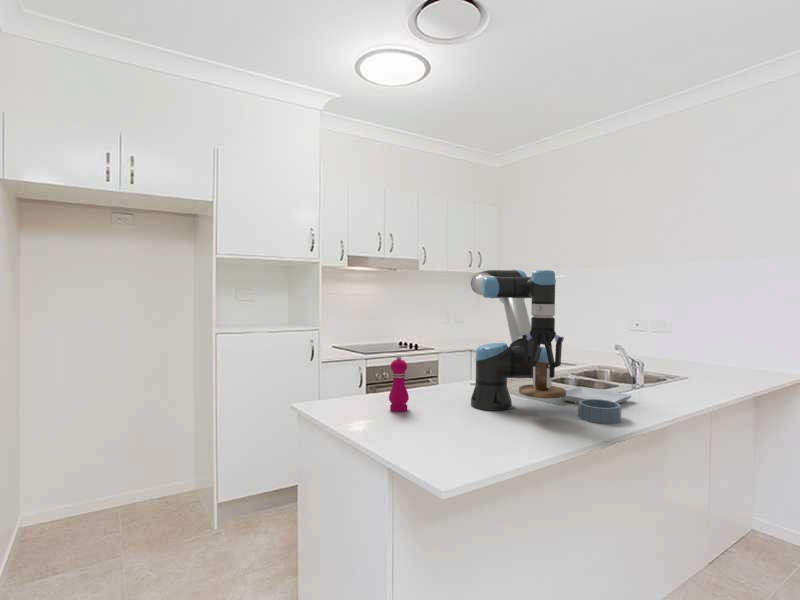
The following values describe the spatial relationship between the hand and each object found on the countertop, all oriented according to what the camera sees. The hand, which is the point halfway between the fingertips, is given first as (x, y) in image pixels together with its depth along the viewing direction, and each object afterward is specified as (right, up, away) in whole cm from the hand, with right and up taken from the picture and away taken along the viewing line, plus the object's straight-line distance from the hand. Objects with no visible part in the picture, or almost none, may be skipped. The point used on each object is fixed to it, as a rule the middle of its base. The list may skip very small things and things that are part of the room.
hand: (542, 386), depth 152 cm
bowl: (+20, -11, +3) cm, 23 cm away
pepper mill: (-48, -11, +13) cm, 51 cm away
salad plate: (+29, -12, +26) cm, 41 cm away
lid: (0, -2, 0) cm, 2 cm away
